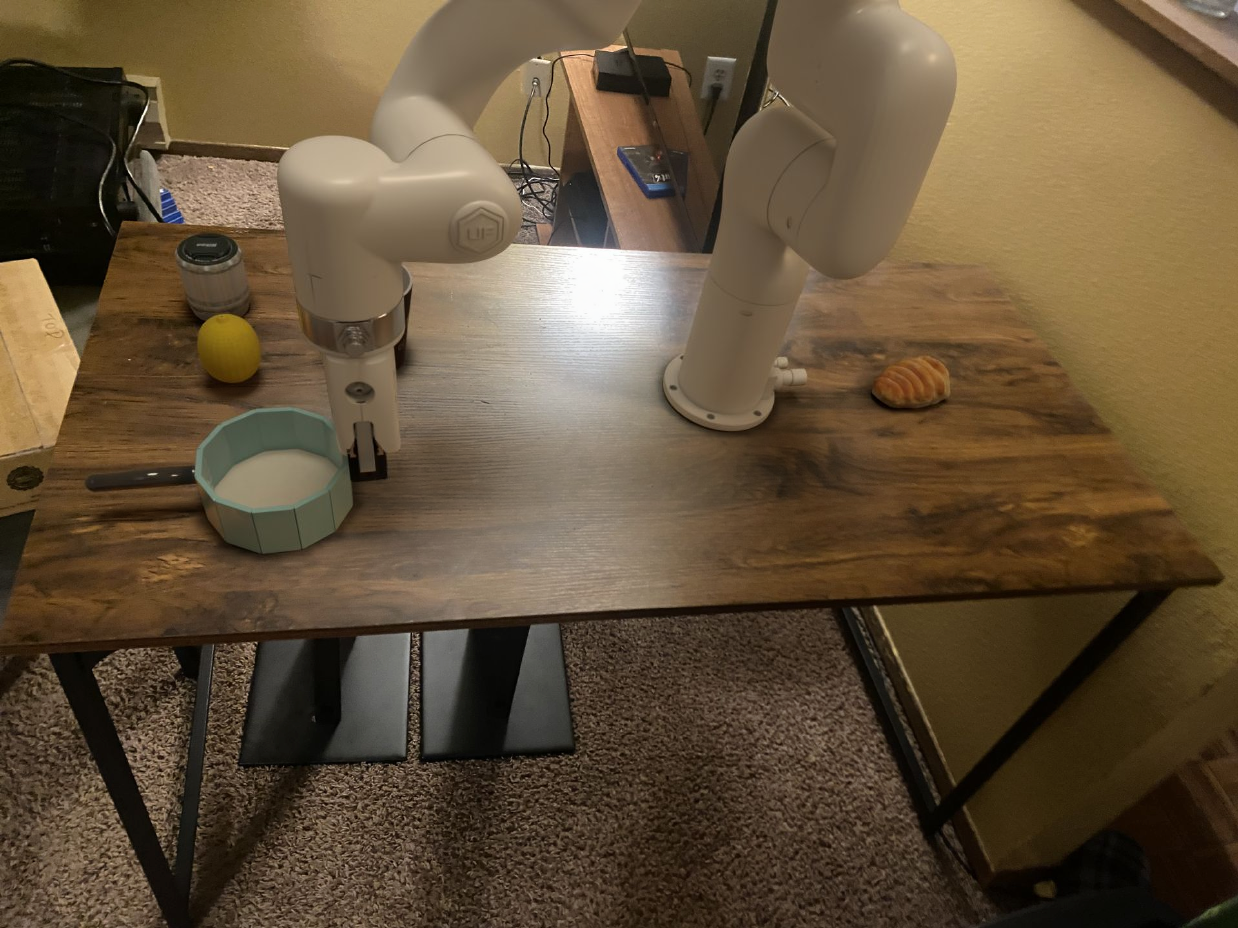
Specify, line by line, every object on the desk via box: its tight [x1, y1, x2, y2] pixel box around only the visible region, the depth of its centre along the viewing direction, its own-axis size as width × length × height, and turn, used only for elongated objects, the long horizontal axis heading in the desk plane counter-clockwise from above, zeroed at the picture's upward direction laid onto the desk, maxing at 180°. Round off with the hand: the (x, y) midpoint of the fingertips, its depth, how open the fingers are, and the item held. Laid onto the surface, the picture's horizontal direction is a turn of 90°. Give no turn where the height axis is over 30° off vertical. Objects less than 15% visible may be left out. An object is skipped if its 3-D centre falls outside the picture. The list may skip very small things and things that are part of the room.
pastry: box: [871, 355, 951, 409], centre depth 98 cm, size 9×7×4 cm
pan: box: [84, 406, 354, 555], centre depth 71 cm, size 20×12×6 cm, turn 105°
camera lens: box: [174, 232, 251, 322], centre depth 88 cm, size 6×6×8 cm
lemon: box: [196, 314, 262, 384], centre depth 80 cm, size 6×6×8 cm
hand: (369, 474), depth 75 cm, fingers closed
